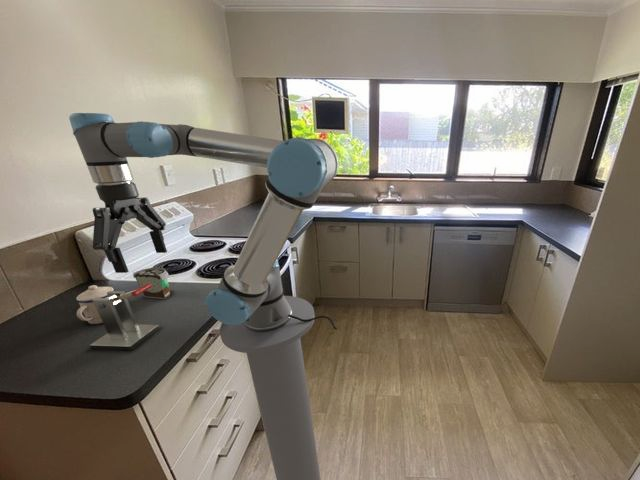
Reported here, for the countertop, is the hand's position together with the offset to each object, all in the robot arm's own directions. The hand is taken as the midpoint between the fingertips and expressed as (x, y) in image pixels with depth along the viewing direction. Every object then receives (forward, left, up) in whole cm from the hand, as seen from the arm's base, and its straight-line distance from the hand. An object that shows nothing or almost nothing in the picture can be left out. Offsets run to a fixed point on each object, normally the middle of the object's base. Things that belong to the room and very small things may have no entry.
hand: (143, 261), depth 79 cm
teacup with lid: (+27, -6, -24) cm, 37 cm away
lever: (+5, +3, -10) cm, 12 cm away
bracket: (+10, +3, -24) cm, 26 cm away
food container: (+20, -23, -24) cm, 39 cm away
